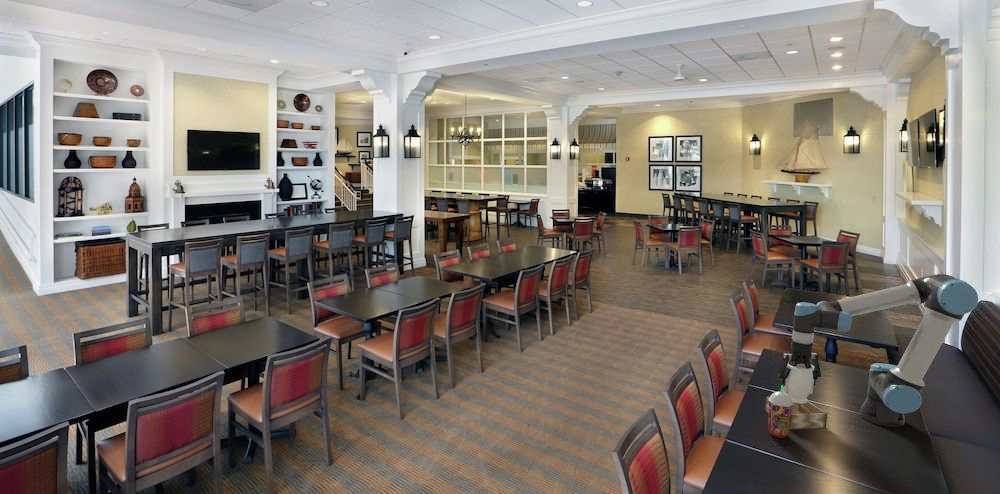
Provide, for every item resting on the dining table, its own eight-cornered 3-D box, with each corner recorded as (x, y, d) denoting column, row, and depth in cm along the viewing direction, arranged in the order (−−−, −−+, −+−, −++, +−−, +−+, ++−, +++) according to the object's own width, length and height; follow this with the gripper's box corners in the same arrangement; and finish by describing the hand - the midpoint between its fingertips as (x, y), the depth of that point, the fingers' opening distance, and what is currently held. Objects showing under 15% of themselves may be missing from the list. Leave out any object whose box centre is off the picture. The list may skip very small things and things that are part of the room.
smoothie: (780, 441, 204) (785, 391, 201) (760, 431, 212) (765, 383, 209) (794, 436, 208) (799, 387, 205) (774, 427, 216) (779, 379, 212)
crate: (799, 409, 232) (801, 395, 231) (826, 428, 215) (827, 413, 214) (764, 410, 230) (766, 396, 229) (788, 429, 214) (790, 414, 213)
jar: (816, 404, 218) (820, 368, 216) (794, 406, 215) (798, 370, 213) (796, 393, 228) (800, 359, 226) (775, 395, 226) (779, 360, 223)
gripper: (822, 337, 223) (817, 388, 226) (769, 338, 221) (764, 389, 224) (835, 343, 215) (829, 396, 219) (780, 344, 213) (775, 397, 217)
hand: (796, 393), depth 221 cm, fingers closed on jar, 10 cm apart
